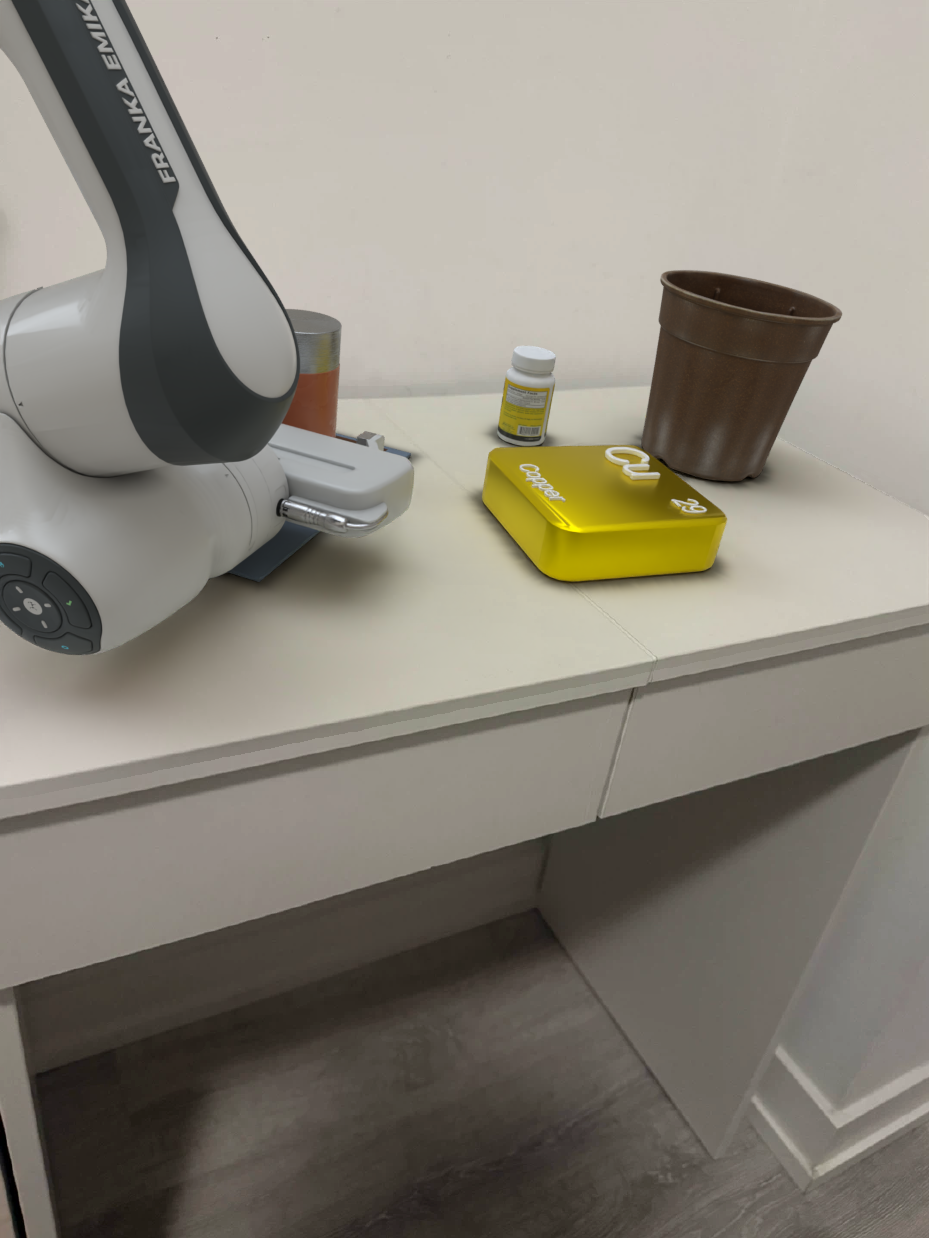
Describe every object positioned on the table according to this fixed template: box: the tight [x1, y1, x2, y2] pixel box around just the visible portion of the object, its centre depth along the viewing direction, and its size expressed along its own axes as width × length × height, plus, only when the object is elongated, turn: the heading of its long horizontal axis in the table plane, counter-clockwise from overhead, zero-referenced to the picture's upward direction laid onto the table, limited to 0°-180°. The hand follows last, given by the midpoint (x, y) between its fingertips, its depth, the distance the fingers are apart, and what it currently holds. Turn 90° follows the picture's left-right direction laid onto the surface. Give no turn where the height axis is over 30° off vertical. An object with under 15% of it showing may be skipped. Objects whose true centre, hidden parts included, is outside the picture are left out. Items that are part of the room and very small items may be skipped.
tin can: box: [282, 308, 342, 438], centre depth 72 cm, size 6×6×12 cm
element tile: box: [481, 444, 728, 583], centre depth 72 cm, size 15×15×5 cm
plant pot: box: [640, 269, 843, 482], centre depth 86 cm, size 16×16×16 cm
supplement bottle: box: [496, 345, 557, 447], centre depth 86 cm, size 5×5×8 cm
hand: (318, 427), depth 68 cm, fingers open, 8 cm apart
